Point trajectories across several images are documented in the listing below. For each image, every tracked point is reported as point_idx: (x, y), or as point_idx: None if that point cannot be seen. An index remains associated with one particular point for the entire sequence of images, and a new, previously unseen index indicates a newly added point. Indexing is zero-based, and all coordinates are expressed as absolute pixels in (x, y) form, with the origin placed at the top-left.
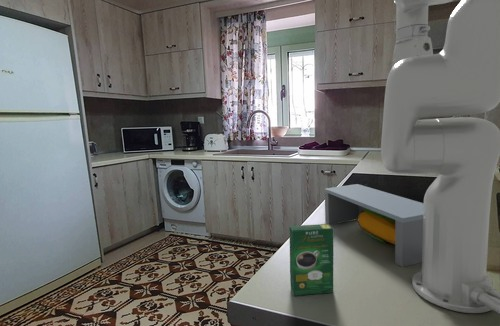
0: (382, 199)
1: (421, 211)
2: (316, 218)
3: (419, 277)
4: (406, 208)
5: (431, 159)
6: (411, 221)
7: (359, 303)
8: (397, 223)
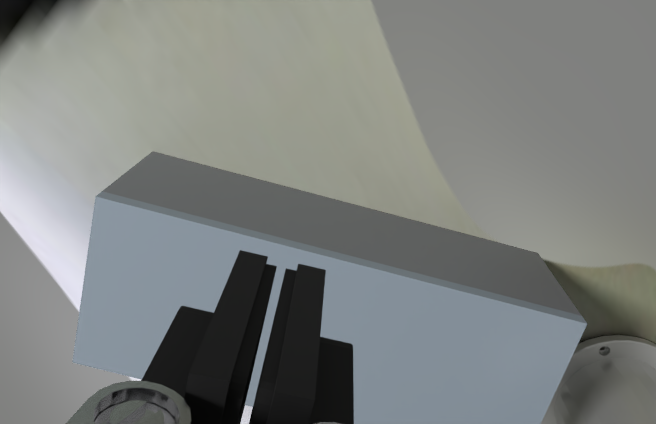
0: (357, 349)
1: (531, 386)
2: (73, 278)
3: (549, 419)
4: (480, 389)
5: None
6: None
7: None
8: None
